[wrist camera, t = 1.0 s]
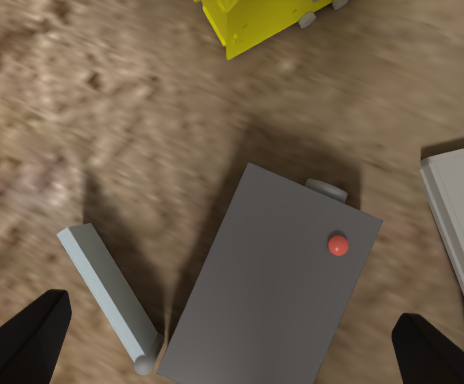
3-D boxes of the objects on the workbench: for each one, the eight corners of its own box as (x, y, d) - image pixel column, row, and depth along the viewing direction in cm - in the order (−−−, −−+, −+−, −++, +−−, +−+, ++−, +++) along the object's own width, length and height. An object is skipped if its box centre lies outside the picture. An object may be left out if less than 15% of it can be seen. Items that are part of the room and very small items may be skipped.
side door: (167, 342, 23) (155, 369, 20) (153, 350, 23) (140, 378, 20) (93, 221, 24) (69, 226, 20) (80, 229, 24) (53, 235, 20)
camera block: (283, 397, 24) (293, 436, 20) (167, 347, 24) (155, 376, 20) (364, 206, 24) (390, 208, 20) (250, 156, 24) (254, 149, 20)
